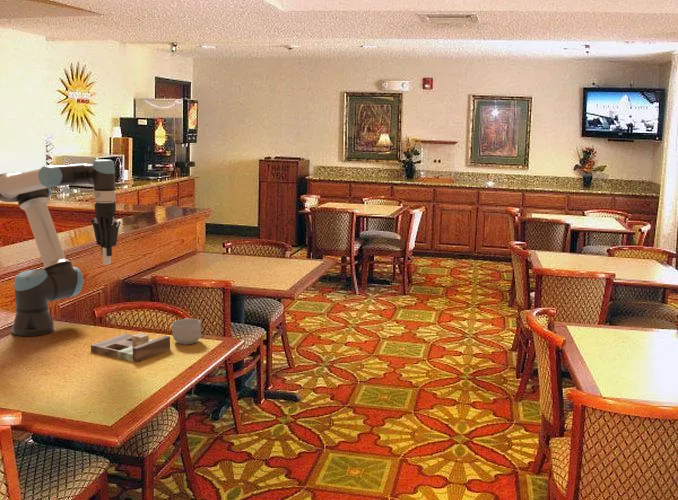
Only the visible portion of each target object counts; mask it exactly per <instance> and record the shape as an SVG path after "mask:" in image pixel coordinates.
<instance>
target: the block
mask: <svg viewBox="0 0 678 500" xmlns="http://www.w3.org/2000/svg"><path fill="white" fill-rule="evenodd" d="M132 335H133V336H132V347H136V346H139V345H141V344H144V343H147V342H149V339H150V337H149V334H146V333H143V332H139V333H136V334H132Z"/></svg>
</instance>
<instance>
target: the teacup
mask: <svg viewBox="0 0 678 500" xmlns="http://www.w3.org/2000/svg"><path fill="white" fill-rule="evenodd" d="M201 326H202V322H201V320H200V319H199V318H189V317H185V318H181V319H177V320H175V321H173V322H172V323H171V328H172V330H171V331H172V337H173V340H174V341H175V342H177V344H179V345H184V346H185V345H186V346H187V345H192V344H195V343H197V342H198V341H199V339H200V338H201V336H202V327H201Z"/></svg>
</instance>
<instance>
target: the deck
mask: <svg viewBox="0 0 678 500" xmlns="http://www.w3.org/2000/svg"><path fill="white" fill-rule="evenodd" d="M133 335H134V334H129V333H122V334H119V335H117V336H114V337H110V338H108V339H105V340H102V341H99V342H96V343H92V344H90V352H91V353H94V354H99V355H103V356H107V357H112V358H114V359H115V358H117V359H120V360H124V361H125V360H126V361H129V362H133V363H140V362H142V361H145V360H148V359H150V358H152V357H155V356H157V355H160V354H162V353H163V354H164V353H165V352H167V351H170V350H171V336H170V335H163V336H161V337H158V338H156V339H152V338H149V342H147V343H144V344H141V345H139V346H136V347H132V336H133Z"/></svg>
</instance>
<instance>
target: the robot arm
mask: <svg viewBox="0 0 678 500" xmlns="http://www.w3.org/2000/svg"><path fill="white" fill-rule="evenodd" d="M115 169H116V168H115V163H114V160H111V159H95V160H93V162H92V163H86V162H77V163H74V164H72V163H71V164H58V165H57V164H56V165H54V164H51V165H50V164H48V165H44V166H42V167H40V168H38V169H34V170H29V171H21V172H20V171H19V172H17V171H16V172H4V173H3V172H2V173H0V201H1V202H4V203H16V202H17V204H18V206H19V208H20V209H21V210H23V211H24V212H25V214H26V217H27V220H28V223H29V226H30V228H31V232H32V234H33V235H32V236H33V237H34V240H35V243H36V246H37V249H38V253H39V255H40V258H41V260H42V264H43V267H42V268H36V269H30V270H29V269H28V270H24V271H22V272H20V273H18V274H17V275H16V276H15V278H14V286H13V289H14V296H15V317H14V320H13V324H12V327H11V329H12V334H13V335H14V336H19V337H37V336H43V335H46V334H50V333H53V331H55V323H54V320H53V318H52V316H51V313H50V311H49V302H53V301H59V300H63V299H69V298H71V297H75V296H78V295H79V294H80V293H81V290H82V289H83V286H84V285H83V284H84V277H83V273H82V271H81V269H79V268H78V267H77V266H76V267H75V266H73V264H72V261H71V260H69V259H67V258H66V256H65V253H64V250H63V247H62V243H61V242H60V239H59V236H58V233H57V230H56V227H55V224H54V221H53V219H52V216H51V213H50V210H49V207H48V202H49V201H50V196H51V194H52V188H56V187H64V186H74V185H76V186H77V185H93V191H94V192H93V194H94V195H93V196H94V201H95V202H94V203H93V205H94V212H95V213H96V215H95V217H94V218H93V219H90V223H91V224H92V228H93V231H94V237H95V241H96V245H97V246H99V247H101V249H100V250H101V256H102V266H108V265H112V255H113V251H112V249H113V247H115V246H117V241H118V236H119V228H120V226H121V224H122V222H121V221H118V220H117V219H116V215H115V213H116V211H117V205H116V204H117V203H116V202H115V201H116V197H117V196H116V170H115Z"/></svg>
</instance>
